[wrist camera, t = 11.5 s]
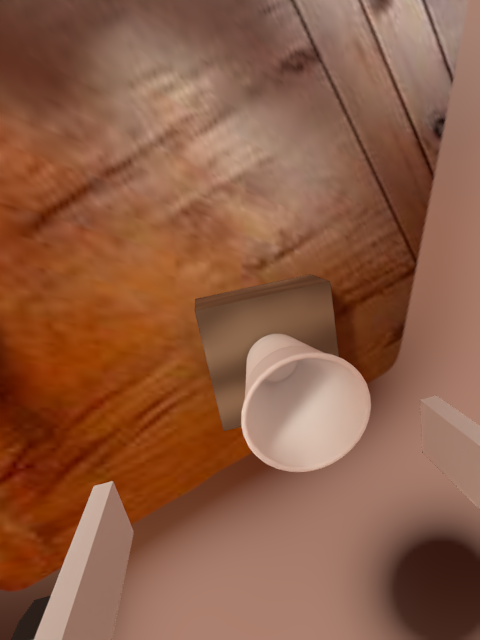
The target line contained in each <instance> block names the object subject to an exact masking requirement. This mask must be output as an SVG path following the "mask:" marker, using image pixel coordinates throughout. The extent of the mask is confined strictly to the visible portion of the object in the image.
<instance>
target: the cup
mask: <svg viewBox="0 0 480 640" xmlns="http://www.w3.org/2000/svg"><path fill="white" fill-rule="evenodd" d="M370 411H371V399H370V393H369V390H368V386H367V384H366V382H365V380H364V378H363V377H362V375H361V374H360V372H359V371H358V370H357V369H356V368H355V367H354V366H353V365H352V364H350V363H349V362H347V361H346V360H344V359H342V358H340V357H337V356H335V355H332V354H327V353H323V352H321V351H319V350H317V349H315V348H313V347H310V346H308V345H306V344H304V343H302V342H300V341H298V340H296V339H294V338H292V337H290V336H288V335H285V334H271V335H267V336H265V337H262V338H261V339H259V340H258V341H257V342H256V343H255V344H254V345H253V346H252V348H251V349H250V351H249V353H248V356H247V364H246V388H245V400H244V403H243V408H242V412H241V426H242V431H243V435H244V438H245V440H246V442H247V444H248V446H249V448H250V449H251V450H252V451H253V453H254V454H255V455H256V456H257V457H258V458H260V459H261V460H262V461H263V462H264V463H266V464H268V465H270V466H272V467H274V468H277V469H280V470H284V471H292V472H306V471H312V470H316V469H320V468H323V467H326V466H328V465H330V464H332V463H334V462H335V461H337V460H339V459H341V458H342V457H344V456H345V455H346V454H347V453H348V452H349V451H350V450H351V449H352V448H353V447H354V446H355V445H356V443H357V442H358V441H359V440H360V438H361V436H362V435H363V433H364V431H365V429H366V427H367V424H368V421H369V418H370Z"/></svg>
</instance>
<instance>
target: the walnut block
mask: <svg viewBox="0 0 480 640" xmlns="http://www.w3.org/2000/svg"><path fill="white" fill-rule="evenodd" d="M195 314H196V318H197V322H198V326H199V331H200V335H201V339H202V343H203V347H204V351H205V355H206V359H207V364H208V368H209V372H210V376H211V380H212V384H213V388H214V393H215V397H216V401H217V405H218V409H219V413H220V417H221V422H222V426H223V430H224V431H226V430H230V429H234V428H238V427H242V426H241V412H242V408H243V403H244V400H245V388H246V364H247V356H248V353H249V351H250V349H251V348H252V346H253V345H254V344H255V343H256V342H257V341H258V340H259V339H261V338H262V337H265V336H267V335H271V334H285V335H288V336H290V337H292V338H294V339H296V340H298V341H300V342H302V343H304V344H306V345H308V346H310V347H313V348H315V349H317V350H319V351H321V352H323V353H327V354H332V355H335V356H337V357H339V353H338V345H337V336H336V327H335V319H334V310H333V301H332V293H331V284H330V281H327V280H325V279H322V278H319V277H317V276H314V275H311V274H309V275H305V276H300V277H296V278H291V279H286V280H282V281H277V282H272V283H268V284H263V285H259V286H254V287H249V288H245V289H240V290H235V291H231V292H226V293H221V294H217V295H212V296H208V297H203V298H198V299H195Z"/></svg>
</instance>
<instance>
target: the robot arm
mask: <svg viewBox="0 0 480 640" xmlns="http://www.w3.org/2000/svg"><path fill="white" fill-rule="evenodd" d="M420 415H421V437H422V453H424V455H425V456H426V457H427V458H429V460H430V461H431V462H432V463H434V465H435V466H437V468H439V469H440V470H441V471H442V473H443V474H445V476H447V477H448V478H449V479H450V480H451V481H452V482H453V483H454V484H455V485H456V486H457V487H458V488H459V489H460V490H461V491H462V492H463V493H464V494H465V495H466V496H467V497H468V498H469V499H470V500H471V501H472V502H473V503H474V504H475V505H476V506H477V507H478V508H479V509H480V425H478V424H477V423H475V422H474V421H473V420H471V419H470V418H468V417H467V416H465V415H464V414H463V413H461V412H460V411H458V410H457V409H455V408H454V407H453V406H451V405H449V404H448V403H447V402H445V401H444V400H443V399H441V398H440V397H438V396H437V395H436V396H432V397H428V398H425V399H421V400H420ZM133 533H134V532H133V529H132V527H131V524H130V522H129V519H128V517H127V514H126V512H125V509H124V507H123V505H122V502H121V500H120V497H119V495H118V492H117V490H116V487H115V485H114V482H113V481H111V482H108V483H104V484H100V485H96V486H94V487H93V489H92V492H91V495H90V497H89V500H88V502H87V505H86V507H85V510H84V512H83V515H82V518H81V520H80V523H79V525H78V528H77V530H76V533H75V535H74V538H73V541H72V543H71V546H70V548H69V551H68V553H67V556H66V558H65V561H64V564H63V566H62V569H61V571H60V574H59V576H58V579H57V582H56V584H55V587H54V590H53V592H52V594H51V596H47V597H44V598H41V599H37V600H34V602H33V603H32V605H31V606H30V607H29V609H28V610H27V612H26V613H25V614H24V616H23V617H22V618H21V620H20V621H19V623H18V625H17V628H16V630H15V632H14V634H13V637H12V639H11V640H112V637H113V632H114V627H115V622H116V617H117V612H118V607H119V602H120V597H121V592H122V587H123V582H124V577H125V572H126V567H127V563H128V558H129V553H130V547H131V542H132V538H133Z"/></svg>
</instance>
